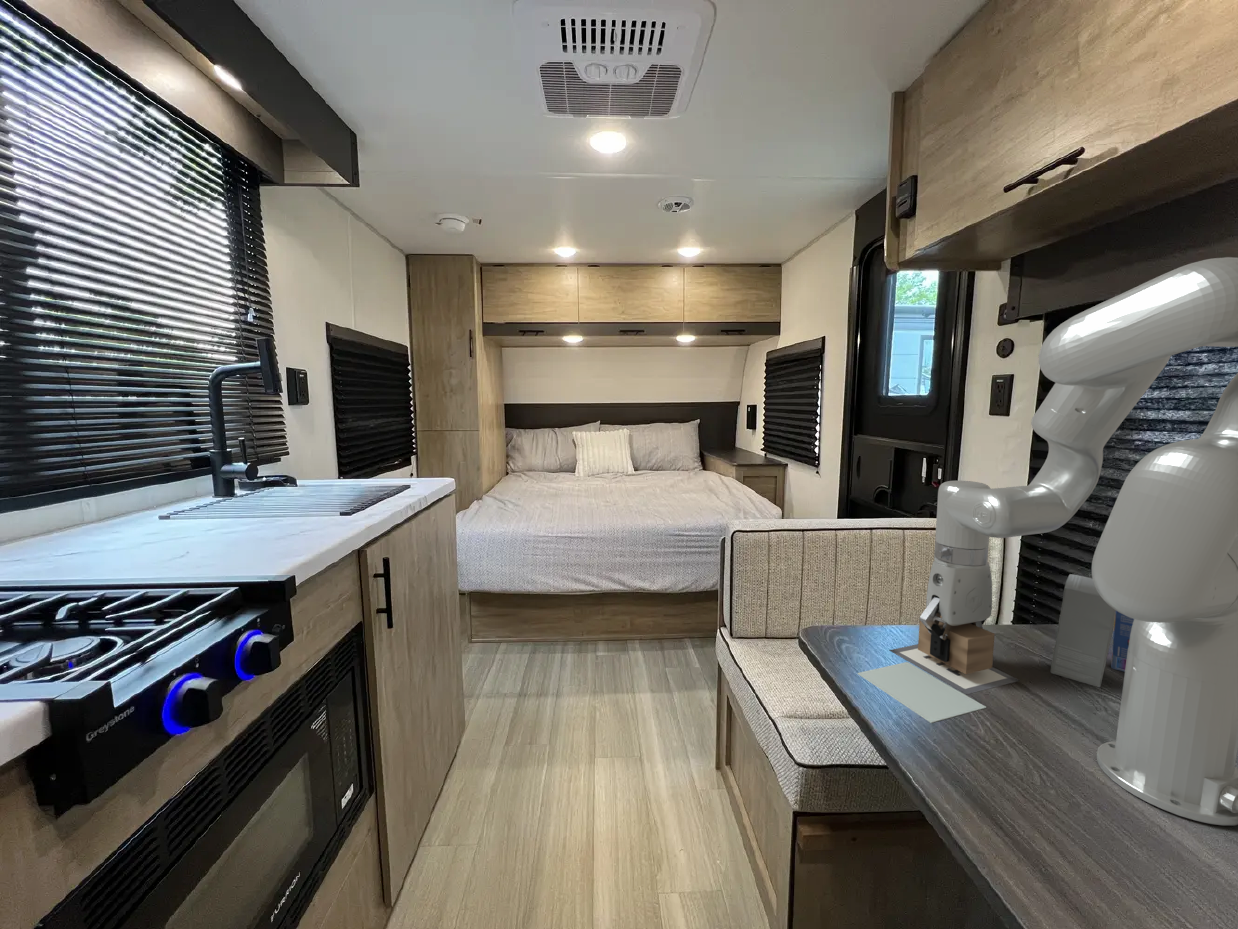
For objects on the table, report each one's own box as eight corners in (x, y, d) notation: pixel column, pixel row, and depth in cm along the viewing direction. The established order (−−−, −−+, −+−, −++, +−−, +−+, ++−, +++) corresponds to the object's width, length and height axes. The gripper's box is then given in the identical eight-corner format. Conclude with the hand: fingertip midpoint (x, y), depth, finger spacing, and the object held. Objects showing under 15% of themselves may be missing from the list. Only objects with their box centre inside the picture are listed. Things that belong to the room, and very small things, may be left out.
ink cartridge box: (1110, 648, 95) (1119, 573, 93) (1153, 658, 91) (1164, 580, 89) (1108, 668, 88) (1118, 587, 86) (1154, 680, 84) (1166, 596, 82)
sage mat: (985, 713, 77) (986, 707, 77) (930, 728, 73) (931, 722, 73) (907, 667, 90) (907, 661, 90) (857, 678, 87) (857, 673, 86)
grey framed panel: (1019, 686, 84) (1019, 680, 84) (966, 700, 80) (966, 694, 80) (937, 645, 98) (937, 639, 98) (888, 655, 94) (888, 650, 94)
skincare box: (1054, 656, 92) (1063, 571, 90) (1109, 671, 87) (1120, 581, 85) (1048, 674, 86) (1058, 584, 84) (1106, 691, 81) (1118, 595, 79)
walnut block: (992, 668, 85) (994, 633, 85) (965, 674, 83) (968, 639, 83) (942, 644, 94) (944, 613, 93) (917, 649, 92) (919, 617, 91)
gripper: (942, 566, 80) (935, 674, 82) (1019, 554, 86) (1011, 656, 88) (902, 553, 87) (897, 653, 89) (975, 543, 93) (969, 638, 95)
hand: (953, 654), depth 88 cm, fingers closed on walnut block, 6 cm apart
